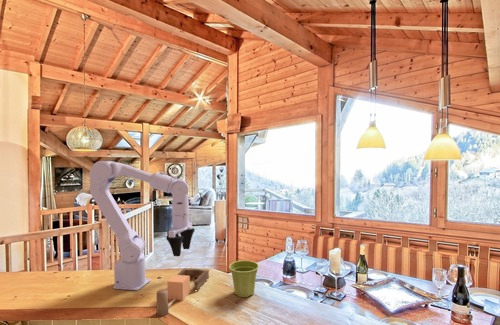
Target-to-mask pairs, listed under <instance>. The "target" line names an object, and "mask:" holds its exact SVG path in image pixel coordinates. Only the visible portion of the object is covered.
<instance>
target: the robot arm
mask: <svg viewBox="0 0 500 325" xmlns="http://www.w3.org/2000/svg"><path fill="white" fill-rule="evenodd" d="M88 175H89V178H90V179H89V182H90V183H89V184H90V185H89V192H90V194H91V196H92V198H93V200H94V202H95V203H96V205H97V207H98V208H99V210H100V212H101V213H102V215H103V217H104V218H105V220H106V222H107V224H108V225H109V227H110V228H111V230H112V231H113V233H114V235H115V237H116V238H117V239H116V240H117V247H118V249H119V255H120V259H118V260H117V261H116V262H115V265H114V268H113V270H114V271H113V272H114V276H113V277H114V278H113V279H114V286H113V287H112V289H114V290H116V289H117V290H124V291H125V290H127V291H140V289H142V288H143V287H145V285H147V284H148V283H149V282H151V281H152V279H151V278H146V256H145V254H144V252H143V251H144V250H145V248H146V241H145V240H144V238H143V237H141V236H140V235H139V234H138V233H137V231H136V230H134V229H133V228H132V226H131V225H130V223H129V222H128V220H127V218H126V216H125V215H124V214H123V212H122V210H121V209H120V207H119V205H118V203H117V201H116V200H115V199H114V197H113V195H112V193H111V191H110V188H111V187H112V186H111V185H112V183H113V182H114V181H115V179H116V178H117V177H123V176H126V177H129V178H133V179H136V180H138V181H141V182H146V183H148V184H149V186H150V188H152V189H155V190H158V191H161V192H164V193H167V194H171V195H172V201H171V207H172V209H171V212H172V213H171V214H172V215H171V217H172V227H171V229H170V230H169V231H168V235H167V236H166V237H165V238H166V240H167V242H168V244H169V245H170V248H171V251H172V255H173V257H180V256H181V253H182V248H183V250H189V249H190V247H191V242H192V239H193V238H192V237H193V235H194V232H195V228H194V227H193V222H192V221H190V205H189V204H190V203H189V195H188V192H189V184H188V183H187V182H186V181H185V180H183V179H178V177H176V176H174V177H173V176H170V175H167V174H165V172H163V171H160V172H158V171H156V172H154V173H150V172H147V171H145V170H142V169H140V168H137V167H134V166H132V165H128V164H126V163H122V162H116V161H114V160H107V161H105V160H99V161H96V162H95V163H93V164H92V167H91V168H90V171H89V172H88Z"/></svg>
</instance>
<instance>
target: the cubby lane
mask: <svg viewBox="0 0 500 325" xmlns="http://www.w3.org/2000/svg"><path fill="white" fill-rule="evenodd" d="M176 275H186V276H190V279H195V278H197V279H195V280H194V283H193V284H194V291H195V290H201V288H202V287H203V286H204V285H205V283H206V282H207V281H208V280H209V278H210V270H209V268H207V269H204V268H188V267H187V268H185V267H184V268H182V270H180V272H179V273H177V274H176ZM207 279H208V280H207ZM206 280H207V281H206ZM205 281H206V282H205ZM202 285H203V286H202ZM201 286H202V287H201ZM200 287H201V288H200Z"/></svg>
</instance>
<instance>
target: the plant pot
mask: <svg viewBox="0 0 500 325" xmlns="http://www.w3.org/2000/svg"><path fill="white" fill-rule="evenodd" d="M259 265H260V264H259V263H258V262H255V261H253V260H245V259H244V260H238V261H233V262H232V263H230V264H229V270H230V273H231V276H232V282H233V290H234V295H237V297H239V298H248V297H250V296H253V295H254V294H255V287H256V280H257V273H258V269H259V268H260V266H259Z"/></svg>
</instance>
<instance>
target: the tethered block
mask: <svg viewBox="0 0 500 325" xmlns="http://www.w3.org/2000/svg"><path fill="white" fill-rule="evenodd" d="M190 281H191V278H190V276H186V275H177V274H174V275H173V276H172V277H171V278H169V280H167V289H165V288H164V289H163V288H162V289H159V290H157V291H156V315H157V316H158V317H164V316H167V315H168V314H169V308H170V307H171V306H172V305H173V304H174V302H175V301H182V300H183V301H184V300H185V299H186V298H187V297H188V296H189V295H190V294H191V282H190ZM189 293H190V294H189ZM188 294H189V295H188ZM187 295H188V296H187ZM186 296H187V297H186ZM185 297H186V298H185ZM184 298H185V299H184ZM171 299H173V300H171ZM169 300H170V301H169Z"/></svg>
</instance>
